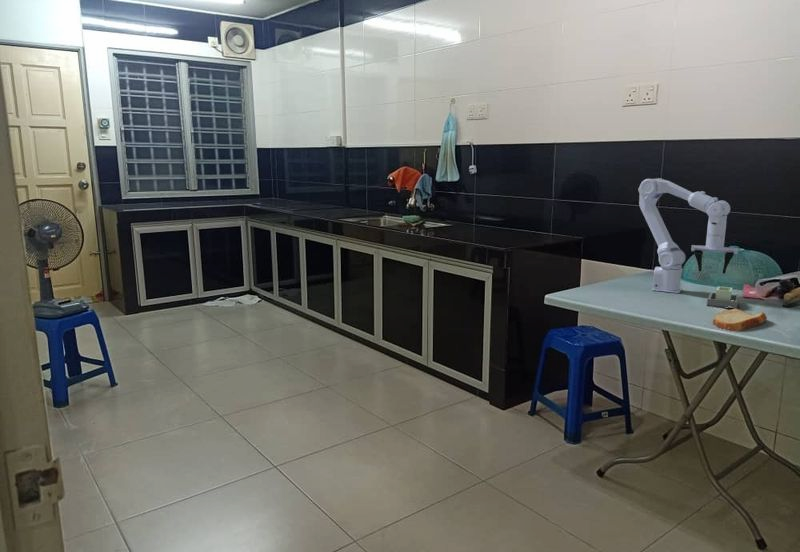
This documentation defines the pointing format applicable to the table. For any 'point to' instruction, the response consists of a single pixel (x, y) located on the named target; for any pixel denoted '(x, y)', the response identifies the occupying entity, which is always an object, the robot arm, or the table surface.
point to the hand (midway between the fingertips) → (711, 272)
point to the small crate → (723, 293)
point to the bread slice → (737, 320)
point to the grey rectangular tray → (722, 301)
